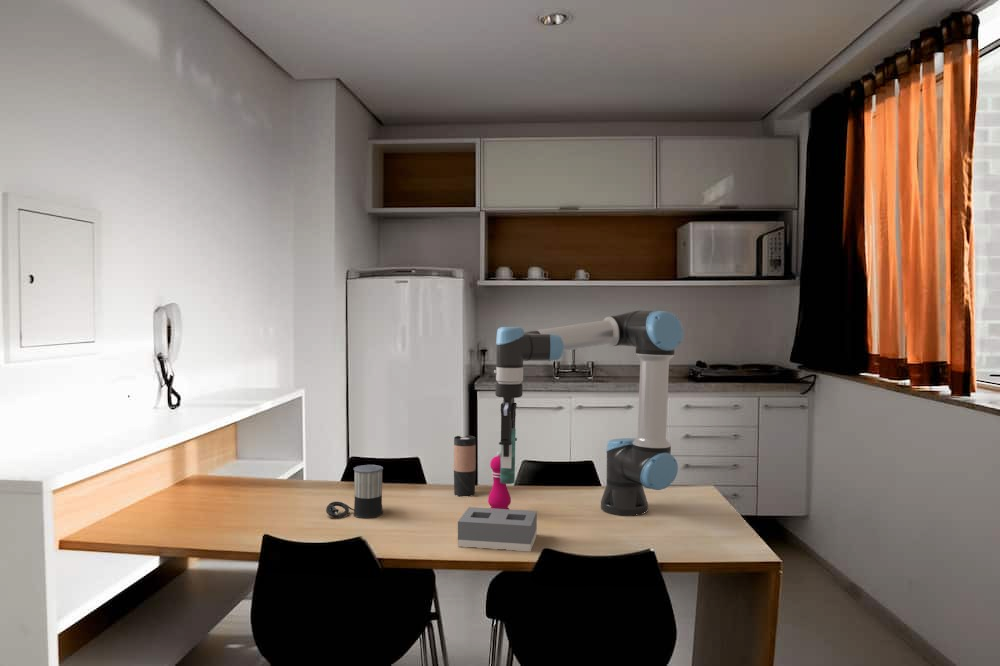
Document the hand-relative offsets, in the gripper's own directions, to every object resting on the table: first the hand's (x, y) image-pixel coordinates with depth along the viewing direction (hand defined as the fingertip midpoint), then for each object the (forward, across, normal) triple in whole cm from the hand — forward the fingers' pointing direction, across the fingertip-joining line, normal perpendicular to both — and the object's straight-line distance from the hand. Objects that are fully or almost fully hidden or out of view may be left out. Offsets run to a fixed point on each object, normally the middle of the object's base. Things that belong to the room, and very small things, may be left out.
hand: (507, 465), depth 195 cm
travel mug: (+21, -46, -22) cm, 56 cm away
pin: (+5, 0, 0) cm, 5 cm away
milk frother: (+22, -16, -50) cm, 57 cm away
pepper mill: (+21, -25, -6) cm, 34 cm away
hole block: (+21, 0, -2) cm, 21 cm away
